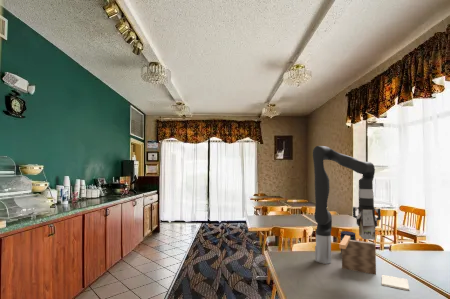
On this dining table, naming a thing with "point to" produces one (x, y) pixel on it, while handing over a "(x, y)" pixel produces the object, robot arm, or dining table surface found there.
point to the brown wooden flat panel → (359, 257)
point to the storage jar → (347, 233)
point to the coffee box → (367, 223)
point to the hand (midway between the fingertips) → (366, 226)
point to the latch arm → (344, 242)
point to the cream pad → (395, 282)
